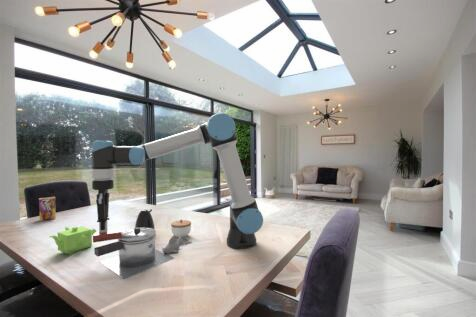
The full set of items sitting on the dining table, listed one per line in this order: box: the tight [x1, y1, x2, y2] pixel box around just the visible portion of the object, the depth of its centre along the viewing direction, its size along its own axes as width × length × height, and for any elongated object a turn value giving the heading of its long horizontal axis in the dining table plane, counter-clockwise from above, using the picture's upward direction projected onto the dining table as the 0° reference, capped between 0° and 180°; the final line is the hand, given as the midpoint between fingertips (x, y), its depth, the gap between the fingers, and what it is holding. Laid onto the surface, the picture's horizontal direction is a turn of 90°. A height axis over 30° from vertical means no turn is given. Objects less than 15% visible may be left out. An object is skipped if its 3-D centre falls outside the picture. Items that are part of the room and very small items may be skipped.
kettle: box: [48, 226, 97, 256], centre depth 114 cm, size 15×14×11 cm
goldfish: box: [162, 235, 193, 255], centre depth 117 cm, size 20×10×9 cm
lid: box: [92, 227, 157, 244], centre depth 100 cm, size 23×15×3 cm, turn 117°
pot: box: [93, 235, 156, 268], centre depth 98 cm, size 23×15×10 cm, turn 141°
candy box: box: [38, 196, 57, 222], centre depth 169 cm, size 9×4×15 cm, turn 127°
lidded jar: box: [170, 219, 192, 238], centre depth 133 cm, size 11×11×9 cm
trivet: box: [99, 248, 175, 280], centre depth 102 cm, size 22×22×1 cm
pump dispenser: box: [134, 208, 156, 230], centre depth 132 cm, size 10×10×15 cm
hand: (103, 236), depth 98 cm, fingers closed
